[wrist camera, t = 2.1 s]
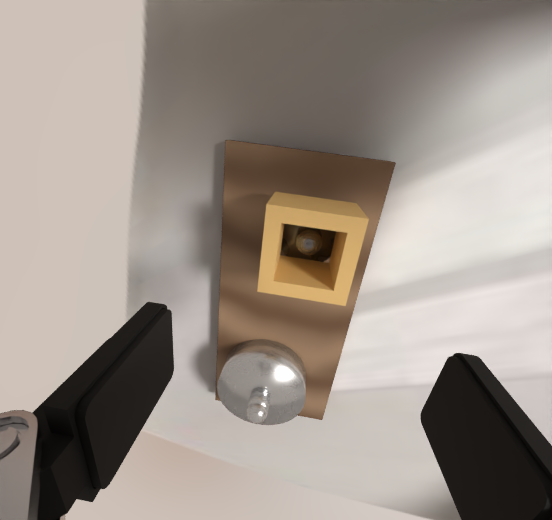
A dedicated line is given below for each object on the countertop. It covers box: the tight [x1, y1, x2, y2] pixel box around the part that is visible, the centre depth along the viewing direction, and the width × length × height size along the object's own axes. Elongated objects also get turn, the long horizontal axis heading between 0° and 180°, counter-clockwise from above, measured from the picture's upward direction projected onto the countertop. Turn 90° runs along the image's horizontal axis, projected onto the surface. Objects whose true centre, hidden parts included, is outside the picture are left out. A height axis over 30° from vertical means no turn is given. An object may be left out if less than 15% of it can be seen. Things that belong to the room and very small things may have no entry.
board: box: [215, 140, 395, 420], centre depth 27 cm, size 29×13×2 cm, turn 173°
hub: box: [217, 339, 306, 425], centre depth 27 cm, size 9×9×6 cm
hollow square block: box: [257, 192, 369, 306], centre depth 19 cm, size 6×6×4 cm
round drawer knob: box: [281, 224, 336, 262], centre depth 21 cm, size 5×5×4 cm
